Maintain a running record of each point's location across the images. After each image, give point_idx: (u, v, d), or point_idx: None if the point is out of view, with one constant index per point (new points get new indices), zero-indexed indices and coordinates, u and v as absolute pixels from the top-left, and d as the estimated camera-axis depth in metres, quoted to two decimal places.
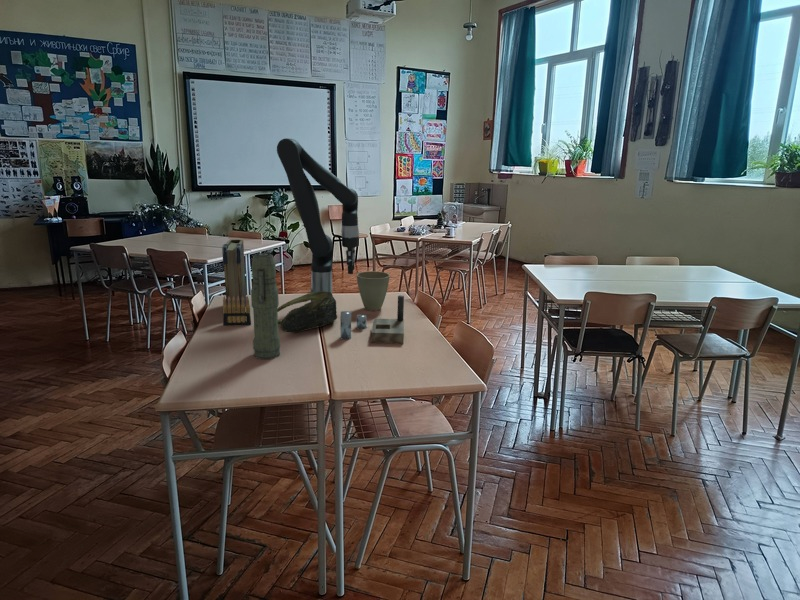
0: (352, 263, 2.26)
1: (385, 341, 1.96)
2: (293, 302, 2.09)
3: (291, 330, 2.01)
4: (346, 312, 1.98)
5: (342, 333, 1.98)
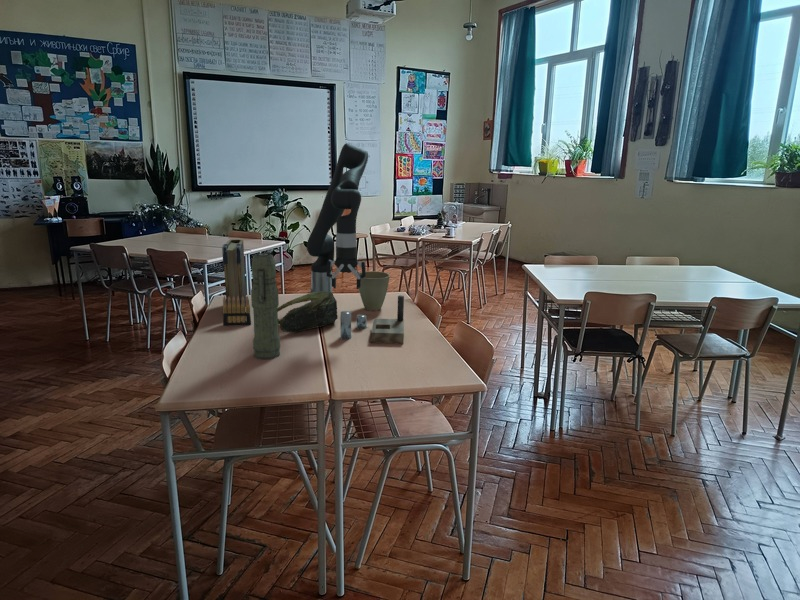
0: (365, 274, 1.95)
1: (385, 341, 1.96)
2: (294, 302, 2.09)
3: (290, 330, 2.02)
4: (346, 312, 1.98)
5: (342, 333, 1.98)
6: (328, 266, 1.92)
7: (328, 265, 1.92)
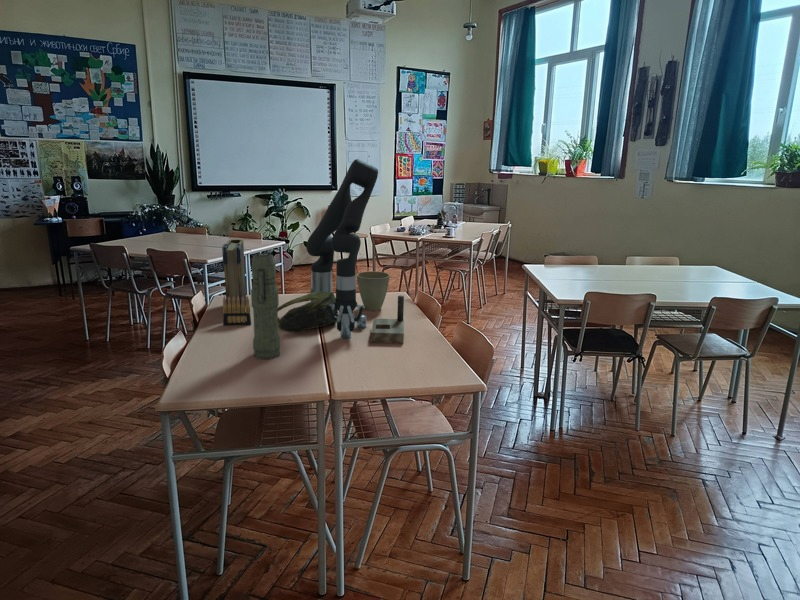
0: None
1: (385, 341, 1.96)
2: (294, 301, 2.10)
3: (290, 329, 2.02)
4: None
5: (342, 333, 1.98)
6: (330, 310, 1.97)
7: (330, 309, 1.96)
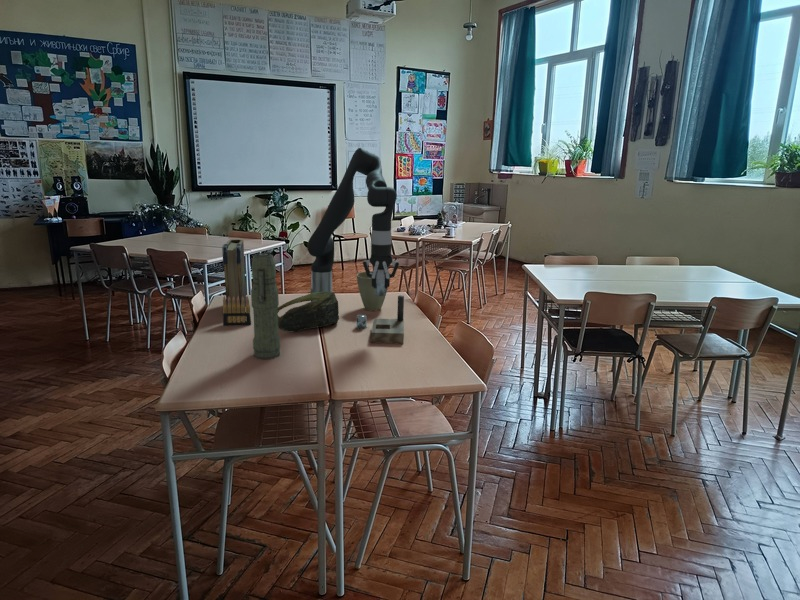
0: None
1: (385, 341, 1.96)
2: (295, 301, 2.11)
3: (289, 329, 2.03)
4: (381, 269, 1.95)
5: (377, 290, 1.96)
6: (365, 266, 1.94)
7: (365, 265, 1.94)
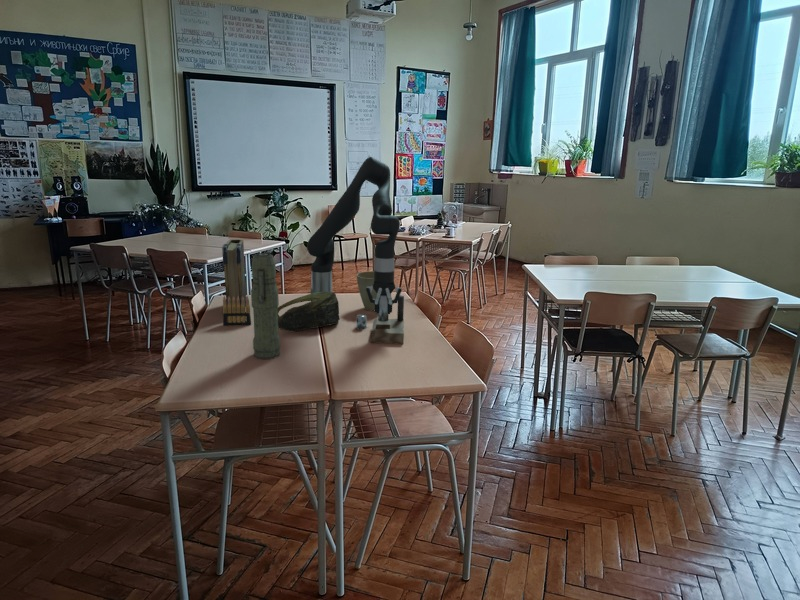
0: None
1: (385, 341, 1.96)
2: (296, 301, 2.11)
3: (288, 328, 2.03)
4: (384, 295, 1.98)
5: (380, 315, 1.99)
6: (368, 293, 1.97)
7: (368, 292, 1.97)
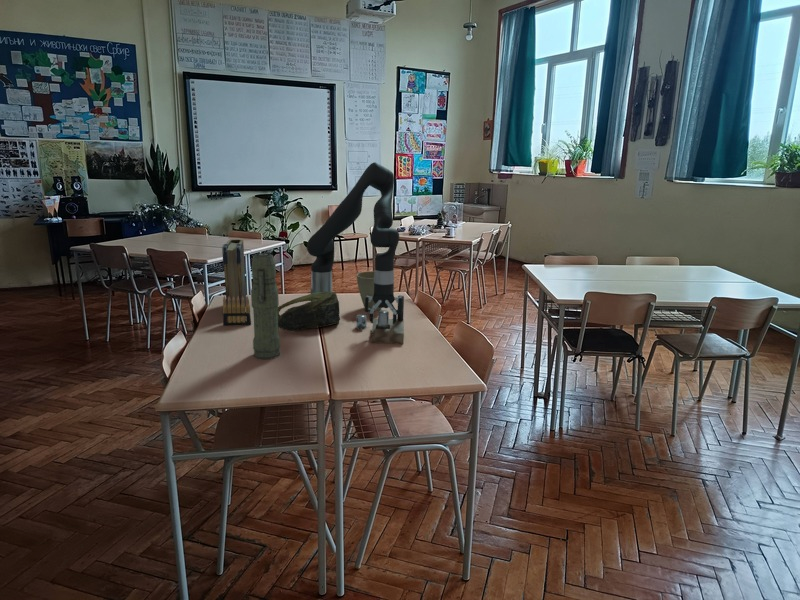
0: None
1: (385, 341, 1.96)
2: (297, 300, 2.11)
3: (288, 328, 2.04)
4: (384, 312, 2.00)
5: None
6: (366, 302, 1.98)
7: (366, 301, 1.98)
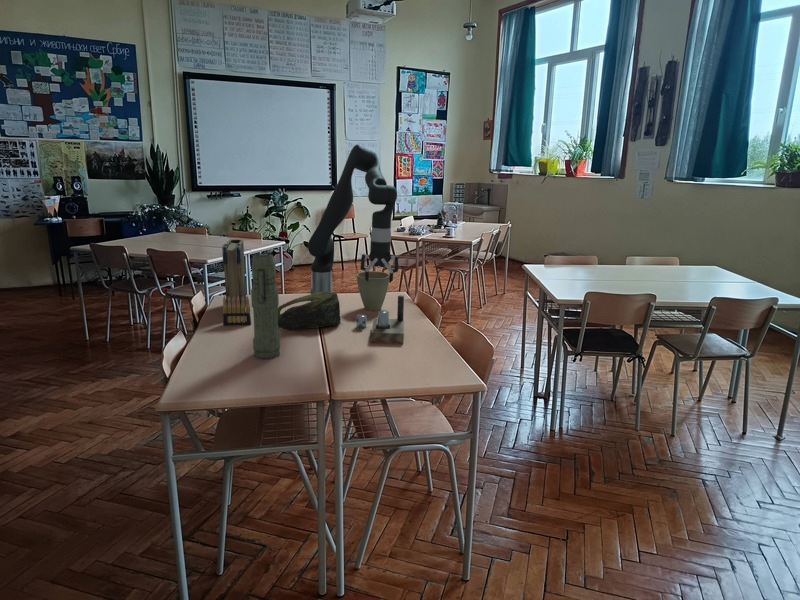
0: None
1: (385, 341, 1.96)
2: (297, 300, 2.12)
3: (288, 327, 2.04)
4: (384, 312, 2.00)
5: None
6: (362, 260, 1.98)
7: (362, 259, 1.97)
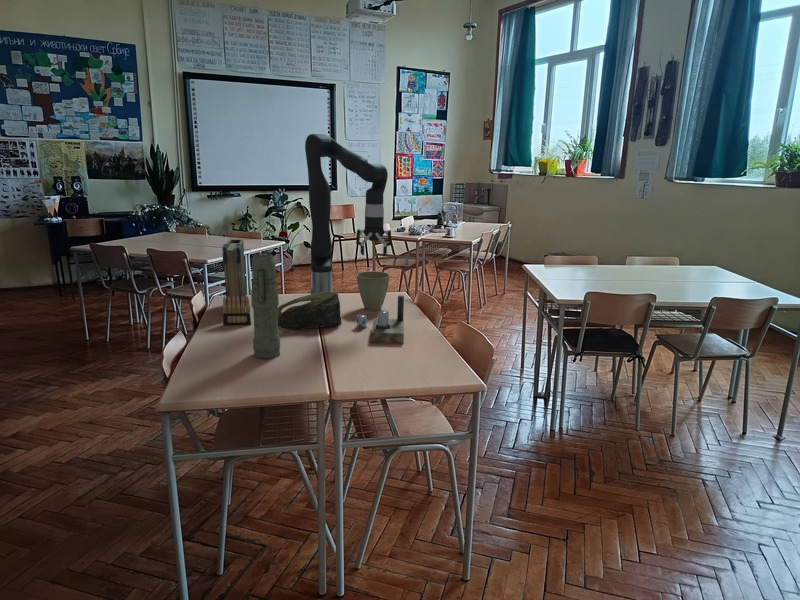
0: None
1: (385, 341, 1.96)
2: (298, 300, 2.12)
3: (287, 327, 2.05)
4: (384, 312, 2.00)
5: None
6: (357, 234, 2.11)
7: (357, 234, 2.11)
